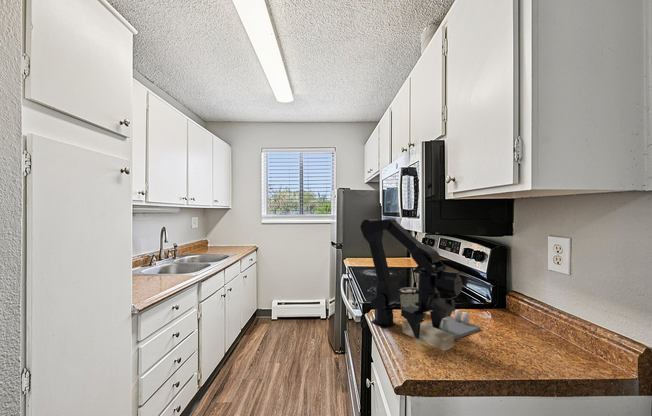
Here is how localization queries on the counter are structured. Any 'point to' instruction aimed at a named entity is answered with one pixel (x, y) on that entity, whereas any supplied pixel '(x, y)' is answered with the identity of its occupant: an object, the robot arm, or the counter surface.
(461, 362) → the counter surface
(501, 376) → the counter surface
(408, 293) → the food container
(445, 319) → the peg stand
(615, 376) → the counter surface
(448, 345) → the beige marbled block
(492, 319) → the counter surface
